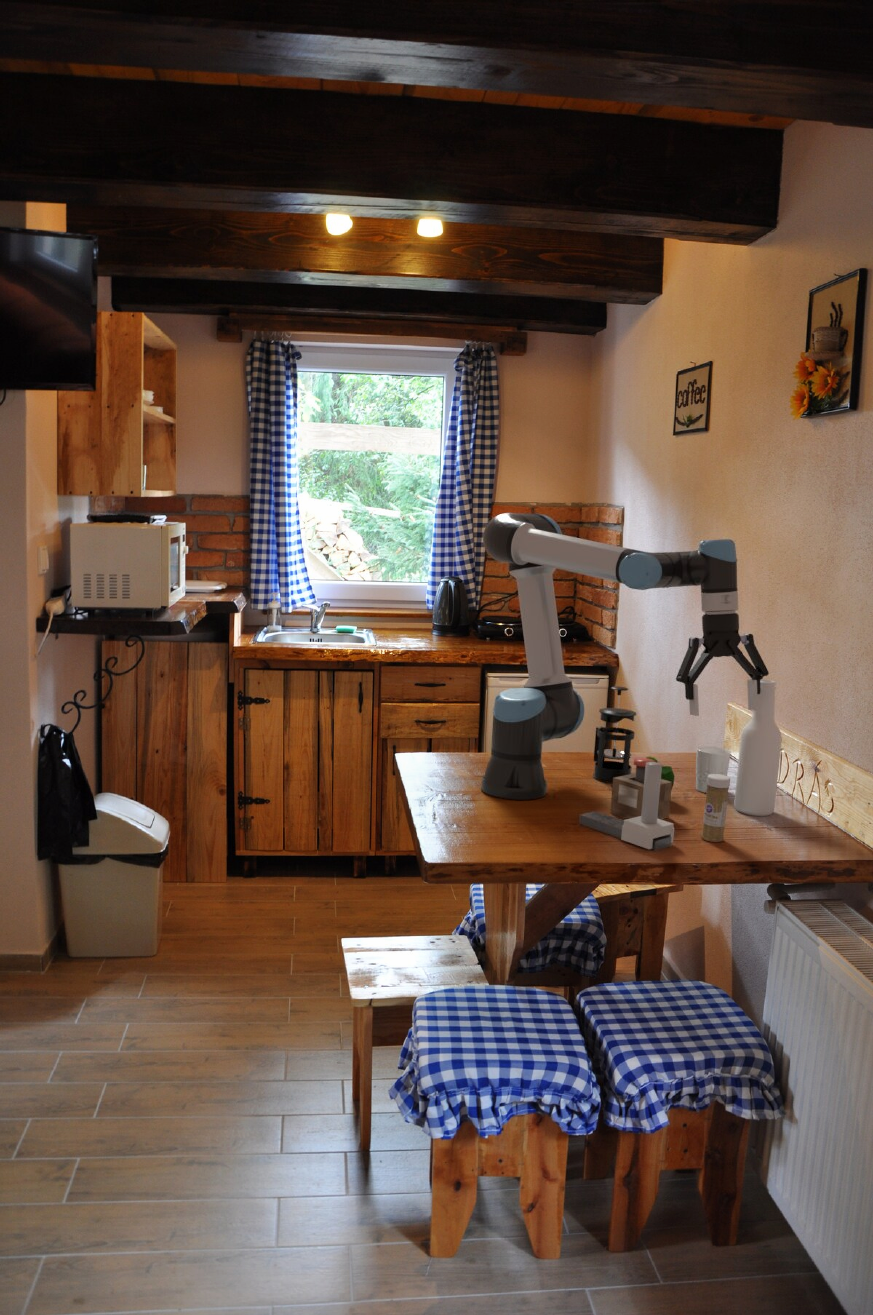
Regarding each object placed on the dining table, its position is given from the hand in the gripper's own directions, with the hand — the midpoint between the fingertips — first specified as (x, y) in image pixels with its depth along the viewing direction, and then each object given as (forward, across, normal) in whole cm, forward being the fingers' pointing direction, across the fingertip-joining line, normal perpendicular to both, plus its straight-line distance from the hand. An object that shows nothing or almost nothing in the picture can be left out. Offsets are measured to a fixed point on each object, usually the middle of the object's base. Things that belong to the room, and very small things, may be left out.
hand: (723, 712), depth 228 cm
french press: (+20, -11, +39) cm, 45 cm away
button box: (+22, -16, +9) cm, 29 cm away
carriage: (+24, -22, -9) cm, 34 cm away
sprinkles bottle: (+25, -7, -7) cm, 27 cm away
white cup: (+23, +10, +28) cm, 37 cm away
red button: (+18, -16, +9) cm, 26 cm away
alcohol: (+25, +12, +11) cm, 30 cm away
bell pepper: (+22, -8, +21) cm, 31 cm away
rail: (+23, -25, -4) cm, 34 cm away
